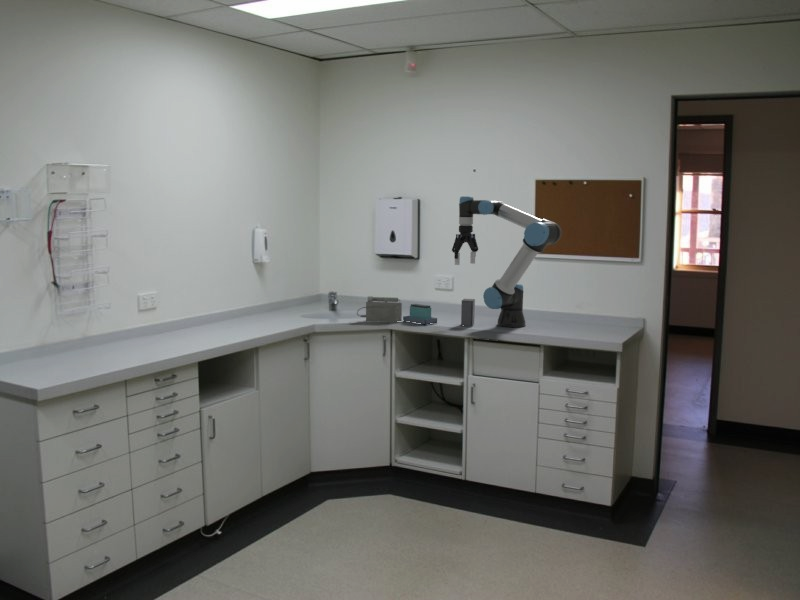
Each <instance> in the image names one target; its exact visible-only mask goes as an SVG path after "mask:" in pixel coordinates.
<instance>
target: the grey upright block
mask: <svg viewBox="0 0 800 600" xmlns="http://www.w3.org/2000/svg"><path fill="white" fill-rule="evenodd" d="M475 303H476V300H475V298H463V299H462V300H461V312H460V313H461V316H460V317H461V318H460V319H461V320H460V326H461V325H464V326H463V327H466V326H472V327H473V326H474V325H475V309H476V308H475V306H476V305H475ZM473 324H474V325H473Z"/></svg>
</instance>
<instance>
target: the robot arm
mask: <svg viewBox="0 0 800 600" xmlns="http://www.w3.org/2000/svg"><path fill="white" fill-rule="evenodd" d="M458 207H459V208H458V209H459V211H458V212H459V216H458V224H459V226H458V234H457V233H456V234H455V239H454V243H453V246H452V248H451V252H452V253H454V265H456V266H460V258H461V257H460V255H461V253H460V250H461V248H462V247H463V245H464V244H465V243H467V245H468V247H469V249H470V257H469V258H470V261H469V262H470V264H472V265H473V264H474V265H475V264H476V256H477V255H476V253H477V252H478V251H479V247H478V243H477V239H476V233H473V232H474V230H473V229H474V227H473V225H474V215H483V216H485V215H493V216H496V217H499V218H501V219H503V220H506V221H508V222H510V223H513V224H514V225H516V226H519V227H521V228H523V229H525V230H524V232H523V235H524V236H523V239H522V243H523V244H522V246H521V247H520V249H519V251H517V253H516V255H515V256H514V258H513V260H512V261H511V262H510V263H509V265H508V267H507V268H506V270H505V272H504V273H503V274H502V276H501V277H500V278H499V279H496V280H495V281H494V283H493V284H492V285H491V287H490V286H489V287H488V288H486V289H485V290H484V292H483V295H482V296H483V297H482V298H483V302H484V304H485V306H486V307H488V309H492V310H500V313H499V316H498V318H497V326H500V327H505V328H522V327H526V319H525V314H524V311H523V306H524V286H523V284H520V283H519V282H520V280H521V279H522V277H523V276H524V275H525V273H526V271H527V270H528V269H529V267H530V265H531V264H532V262H533V261H534V259H535V258H536V256H537V255H538V254H541V253H543V252H544V251H545V249H546V247H547V246H549V245H554V244H556V243H558V242H559V240H560V239H561V237H562V229H561V227H560V225H559V224H558V223H556V222H554V221H552V220H549V219H546V218H543V219H542V218H538V217H536V216H534V215H531V214H529V213H526V212H524V211H522V210H520V209H518V208H515V207H513V206H511V205H509V204H506V203H505V202H504V201H502V200H497V199H496V200H492V199H491V200H488V199H479V200H478V199H477V200H476V199H474V197H473V196H460V197H459V203H458Z"/></svg>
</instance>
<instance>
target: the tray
mask: <svg viewBox="0 0 800 600" xmlns="http://www.w3.org/2000/svg"><path fill="white" fill-rule="evenodd" d="M403 320H404V321H410V322H416V323H421V324H425V325H424V326H427V325H426V324H430V323H437V324H438V317H433V316H431V319H426V320H425V319H419V318H412V317H410V315H403V317H402V321H403Z"/></svg>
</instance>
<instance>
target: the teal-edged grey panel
mask: <svg viewBox="0 0 800 600" xmlns="http://www.w3.org/2000/svg"><path fill="white" fill-rule="evenodd" d="M409 316H410V317H412V318H419V319H425V320H426V319H431V317H432V307H431V305H428V304H427V305H426V304H420V303H412V304H410V306H409Z"/></svg>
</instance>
